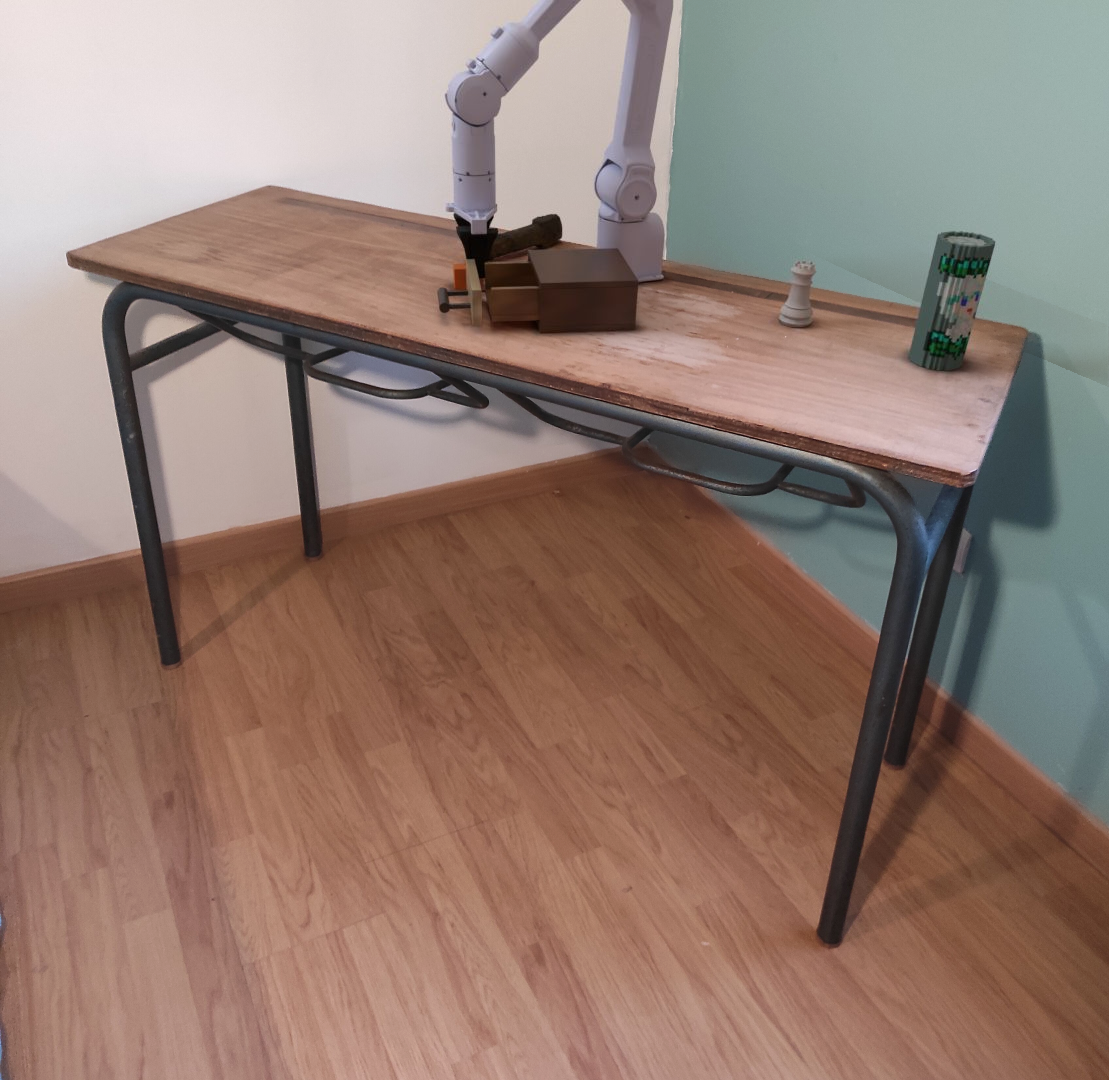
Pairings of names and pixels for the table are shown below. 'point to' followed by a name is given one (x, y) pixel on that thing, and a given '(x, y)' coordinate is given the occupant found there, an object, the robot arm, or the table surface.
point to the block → (463, 277)
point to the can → (951, 299)
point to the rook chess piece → (799, 296)
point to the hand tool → (528, 236)
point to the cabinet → (584, 290)
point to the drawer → (498, 292)
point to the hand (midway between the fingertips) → (476, 271)
